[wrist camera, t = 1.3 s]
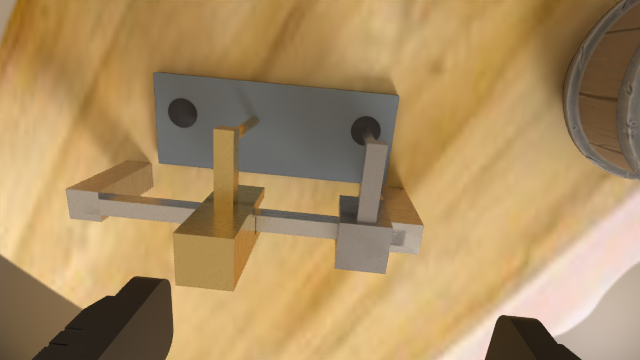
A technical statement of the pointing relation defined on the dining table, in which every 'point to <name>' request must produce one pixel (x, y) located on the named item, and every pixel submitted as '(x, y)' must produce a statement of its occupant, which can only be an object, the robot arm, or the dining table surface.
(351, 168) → the flange plate
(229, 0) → the dining table surface
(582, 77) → the mug
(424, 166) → the dining table surface
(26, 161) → the dining table surface
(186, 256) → the slide head
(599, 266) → the dining table surface
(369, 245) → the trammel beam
